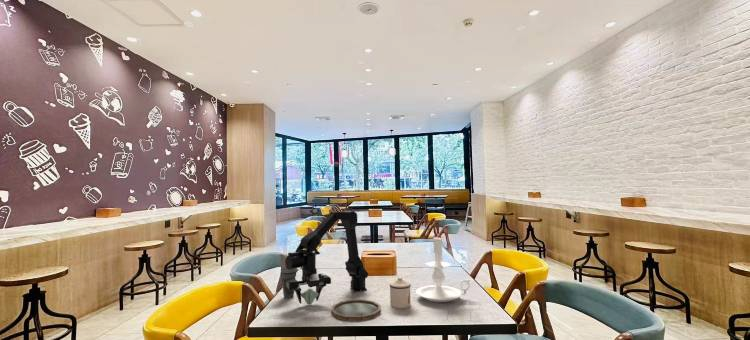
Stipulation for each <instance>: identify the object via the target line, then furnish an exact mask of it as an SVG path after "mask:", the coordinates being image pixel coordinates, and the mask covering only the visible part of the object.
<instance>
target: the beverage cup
mask: <svg viewBox="0 0 750 340" xmlns="http://www.w3.org/2000/svg"><path fill="white" fill-rule="evenodd" d="M297 273H298V272H297V268H295V269H290V270H288V269H287V268H286V265H285V264H284V265H283V266H282V267H281V272H280V275H281V279H282V280H281V281H282V294H283V299H293V298H294V297H295V291H294V290H293V289H292V290H289V289H288V288H287V287H286V282H287V280H292V279H296V277H297Z"/></svg>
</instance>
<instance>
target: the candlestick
mask: <svg viewBox="0 0 750 340" xmlns="http://www.w3.org/2000/svg"><path fill="white" fill-rule="evenodd" d="M433 253H434V261H428V262H425V265H426V266H427V267H431V268H433V269H434V271H433V273H432V274H431V278H432V281H433V283H435V285H425V286H421V287H419V288H417V289H416V290H415V293H416V294H417V295H418V296H419V297H421V298H423V299H424V300H427V301H430V302H434V303H435V302H436V303H446V302H452V301H454V300H456V299H457V298H460V297H462V296H463V295H464V296H465V295H466V294H467V291H468V290H469V288H470V281H471V279H462V280H461V281H459V285H458V286H459V288H460V289H461V290H460V289H458V288H456V287H452V286H448V285H447V286H446V285H442V284H443V283H444V282H445V279H446V276H445V273H444V272H443V269H444V268H447V267H450V266H451V265H452V264H451V263H449V262H446V261H442V260H443V238H441V237H439V236H438V237H437V236H435V237H433ZM463 283H467V286H466V287H465V288H464V287H462V284H463ZM462 291H463V292H462Z"/></svg>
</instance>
